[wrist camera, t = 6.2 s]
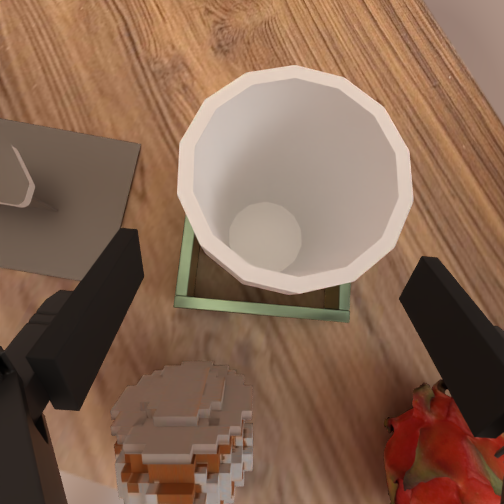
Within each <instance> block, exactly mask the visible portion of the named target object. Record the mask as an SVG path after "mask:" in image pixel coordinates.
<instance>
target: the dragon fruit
mask: <svg viewBox="0 0 504 504" xmlns="http://www.w3.org/2000/svg"><path fill="white" fill-rule="evenodd" d="M446 389H448V388H447V386H446V384H445V383H444V381H443V380H439V381H438V382H437V383H436V384H435V385H434V386H433V387H432V389H431V387H430V385H428V384H427V383H423V384H422V385H420V387H418V388H415V389H414V390H413V401H412V405H413V409H410V410H408V411H407V412H405V413H403V414H401V415H400V416H398V417H395V418H389V417H388V418H387V419H385V421H384V426H385V427H387V430H388V432H389V433H391V432H392V431H394V434H393V435H392V437H391V438H390V439H389V440H388V442H387V444H386V447H385V449H384V466H385V471H386V477H387V484H388V489H389V490H388V492H389V493H388V494H389V496H390V500H391V502H390V504H500V502H501V493H502V485H503V477H504V462H503V461H504V454H503V455H502V456H501V457H499V458H496V457H495V456H494V455H495V453H496V451H498V450H499V449H500V448H502V447H503V446H504V433H502V434H501V435H500V436H499V437H497V438H496V439H494V438H479V437H474V436H473V434H472V432H471V430H470V429H469V427H468V425H467V423H466V421H465V419H464V418H463V416H462V414H461V412H460V410H459V408H458V407H457V405H456V403H455V401H454V399H453V397H449V396H447V395H446V394H445V390H446Z"/></svg>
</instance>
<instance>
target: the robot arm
mask: <svg viewBox="0 0 504 504" xmlns="http://www.w3.org/2000/svg"><path fill="white" fill-rule="evenodd" d="M143 278H144V272H143V265H142V258H141V251H140V244H139V237H138V230H137V229H127V228H120V229H119V230H118V231H117V233H116V234H115V235H114V237H113V238H112V239H111V241H110V242H109V244H108V245H107V246H106V248H105V249H104V250H103V252H102V253H101V254H100V256H99V257H98V259H97V260H96V261H95V263H94V264H93V265H92V267H91V268H90V269H89V271H88V272H87V274H86V275H85V276H84V278H83V279H82V280H81V282H80V283H79V284H78V286H77V287H76V288H75V290H74V291H65V290H59V291H58V292H56V293H55V294H54V295H52V296H51V297H49V298H48V299H46V300H45V302H44V303H43V304H42V305H41V306H40V308H39V309H38V310H37V313H35V314H34V315H33V316H32V317H31V319H30V320H29V323H27V324H26V325H25V326H24V327H23V328H22V330H21V331H20V332H19V333H18V335H17V336H16V337H15V338H14V339H13V341H12V342H11V343H10V344H9V346H8V347H7V348H6V349H5V351H4V350H3V348H2V347H1V346H0V504H68V503H67V499H66V496H65V492H64V488H63V484H62V481H61V476H60V473H59V469H58V465H57V461H56V457H55V453H54V450H53V446H52V442H51V438H50V434H49V430H48V427H47V423H46V419H45V416H44V414H43V413H42V412H43V410H44V409H45V407H46V405H47V404H48V402H49V400H50V402H51V403H52V405H53V407H54V409H59V410H74V411H80V408H81V406H82V404H83V402H84V400H85V398H86V396H87V394H88V392H89V390H90V388H91V386H92V384H93V381H94V379H95V377H96V375H97V373H98V371H99V369H100V367H101V365H102V363H103V361H104V359H105V357H106V355H107V352H108V350H109V348H110V346H111V344H112V342H113V340H114V338H115V336H116V334H117V332H118V330H119V328H120V325H121V323H122V321H123V319H124V317H125V315H126V313H127V311H128V309H129V307H130V305H131V303H132V301H133V299H134V296H135V294H136V292H137V290H138V288H139V286H140V284H141V282H142V280H143ZM399 300H400V302H401V303H402V305H403V307H404V309H405V311H406V313H407V314H408V316H409V318H410V320H411V322H412V324H413V325H414V327H415V329H416V331H417V333H418V335H419V337H420V338H421V340H422V342H423V344H424V346H425V348H426V349H427V351H428V353H429V355H430V357H431V359H432V360H433V362H434V364H435V366H436V368H437V370H438V372H439V373H440V375H441V377H442V379H443V381H444V383H445V384H446V386H447V388H448V390H449V392H450V394H451V395H452V397H453V399H454V401H455V403H456V405H457V407H458V408H459V410H460V412H461V414H462V416H463V418H464V419H465V421H466V423H467V425H468V427H469V429H470V430H471V432H472V434H473V436H474V437H479V438H494V439H496V438H497V437H499V436H500V435H501V434H502V433H504V331H503V330H502V329H501V328H499V327H498V326H493V325H492V323H491V322H490V321H489V320H488V318H487V317H486V316H485V315H484V314H483V312H482V311H481V310H480V309H479V307H478V306H477V305H476V304H475V303H474V301H473V300H472V299H471V298H470V297H469V295H468V294H467V293H466V292H465V290H464V289H463V288H462V287H461V286H460V284H459V283H458V282H457V281H456V279H455V278H454V277H453V276H452V275H451V273H450V272H449V271H448V270H447V269H446V267H445V266H444V265H443V264H442V262H441V261H440V260H439V259H438V258H436V257H425V256H422V257H421V258H420V260H419V262H418V264H417V266H416V268H415V270H414V271H413V273H412V275H411V277H410V279H409V281H408V283H407V284H406V286H405V288H404V290H403V292H402V294H401V296H400V297H399ZM503 454H504V446H503V447H502V448H500V449H499V450H498V451H496V453H495V455H494V456H495V457H496V458H499V457H501V456H502V455H503ZM503 462H504V461H503ZM500 504H504V477H503V485H502V493H501V502H500Z"/></svg>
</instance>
